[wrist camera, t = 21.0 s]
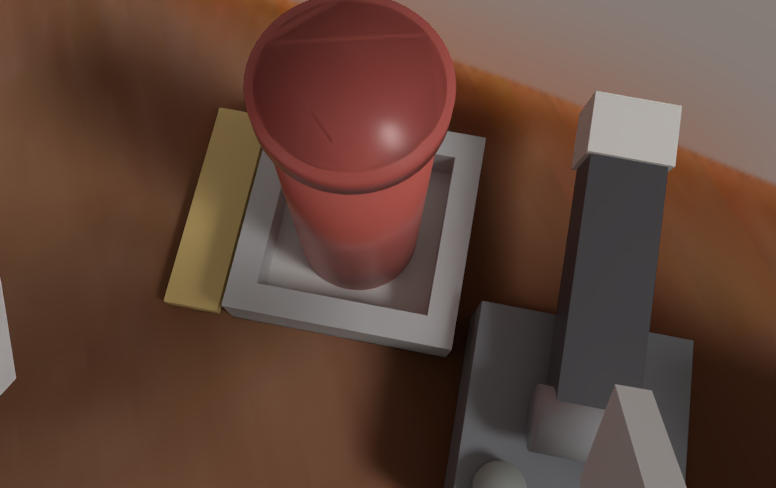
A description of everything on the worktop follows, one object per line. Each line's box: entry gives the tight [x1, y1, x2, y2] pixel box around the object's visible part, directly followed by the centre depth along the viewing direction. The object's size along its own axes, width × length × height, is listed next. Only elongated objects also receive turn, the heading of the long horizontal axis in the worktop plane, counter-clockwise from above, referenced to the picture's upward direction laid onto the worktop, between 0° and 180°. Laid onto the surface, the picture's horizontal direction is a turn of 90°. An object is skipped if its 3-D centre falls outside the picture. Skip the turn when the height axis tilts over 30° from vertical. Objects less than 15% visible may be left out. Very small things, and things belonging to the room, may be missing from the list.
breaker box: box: [444, 301, 694, 488], centre depth 23 cm, size 7×7×4 cm
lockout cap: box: [243, 0, 456, 290], centre depth 21 cm, size 5×5×11 cm
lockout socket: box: [164, 108, 486, 357], centre depth 26 cm, size 10×8×2 cm
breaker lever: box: [526, 91, 682, 463], centre depth 21 cm, size 3×2×11 cm
